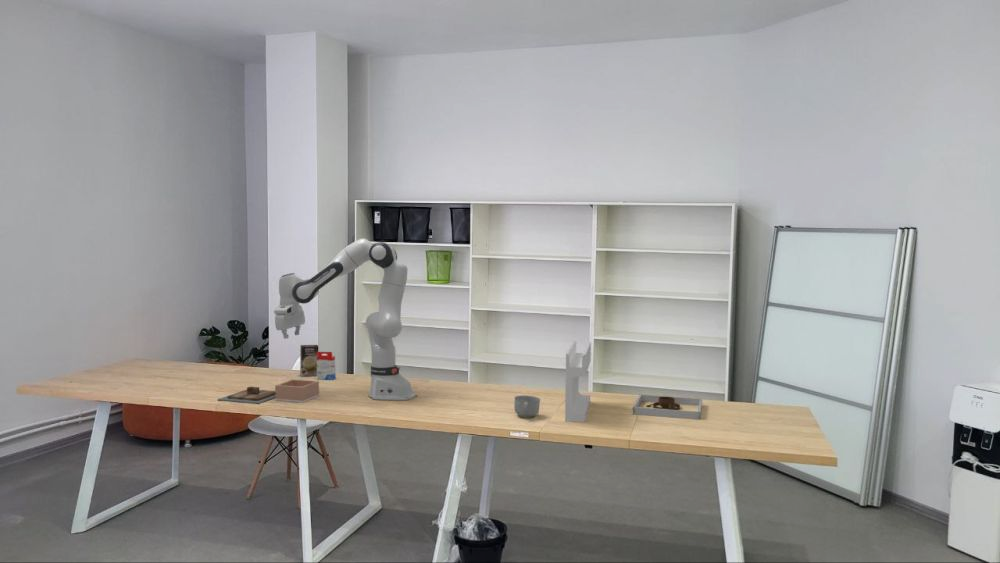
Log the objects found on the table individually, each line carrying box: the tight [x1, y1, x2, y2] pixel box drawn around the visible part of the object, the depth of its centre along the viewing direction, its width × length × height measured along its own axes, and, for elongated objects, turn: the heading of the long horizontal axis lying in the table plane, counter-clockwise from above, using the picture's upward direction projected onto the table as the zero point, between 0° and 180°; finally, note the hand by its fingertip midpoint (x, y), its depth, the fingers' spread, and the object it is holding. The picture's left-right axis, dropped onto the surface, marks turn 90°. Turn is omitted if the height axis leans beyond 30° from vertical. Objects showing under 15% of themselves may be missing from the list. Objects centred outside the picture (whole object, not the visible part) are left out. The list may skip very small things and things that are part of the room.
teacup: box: [513, 394, 541, 419], centre depth 312 cm, size 14×11×8 cm
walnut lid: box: [227, 386, 275, 401], centre depth 346 cm, size 16×16×4 cm
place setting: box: [645, 395, 681, 410], centre depth 327 cm, size 18×20×6 cm
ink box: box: [316, 351, 336, 381], centre depth 387 cm, size 8×5×15 cm, turn 84°
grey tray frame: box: [632, 393, 703, 420], centre depth 327 cm, size 28×26×3 cm
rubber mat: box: [217, 389, 276, 405], centre depth 346 cm, size 22×22×1 cm
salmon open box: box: [274, 379, 320, 404], centre depth 343 cm, size 14×14×7 cm
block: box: [564, 340, 592, 423], centre depth 321 cm, size 35×8×28 cm, turn 170°
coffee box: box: [299, 344, 319, 378], centre depth 395 cm, size 9×6×16 cm
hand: (291, 336), depth 353 cm, fingers open, 8 cm apart
